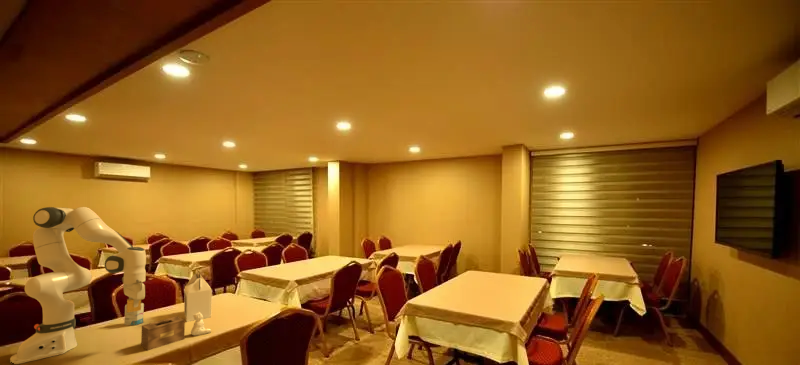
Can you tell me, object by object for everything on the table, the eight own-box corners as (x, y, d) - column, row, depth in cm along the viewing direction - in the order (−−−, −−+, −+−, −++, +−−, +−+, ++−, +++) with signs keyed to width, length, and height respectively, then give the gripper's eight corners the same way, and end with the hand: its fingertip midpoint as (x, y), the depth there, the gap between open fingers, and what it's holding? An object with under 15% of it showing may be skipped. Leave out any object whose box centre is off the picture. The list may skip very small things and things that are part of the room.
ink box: (143, 322, 201) (144, 302, 202) (136, 325, 196) (137, 305, 197) (131, 322, 202) (131, 302, 202) (123, 325, 197) (124, 305, 198)
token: (126, 312, 165) (127, 300, 166) (126, 311, 168) (127, 299, 168) (140, 310, 169) (141, 298, 169) (140, 308, 171) (140, 297, 171)
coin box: (148, 350, 162) (148, 329, 162) (141, 345, 168) (141, 325, 168) (184, 339, 175) (184, 320, 175) (176, 334, 181) (177, 316, 181)
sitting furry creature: (212, 332, 183) (212, 310, 184) (196, 338, 176) (196, 315, 176) (203, 329, 188) (203, 308, 189) (186, 334, 180) (187, 312, 181)
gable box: (184, 312, 218) (185, 270, 219) (207, 308, 226) (207, 267, 227) (186, 322, 200) (187, 275, 202) (211, 317, 208) (212, 272, 210)
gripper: (149, 280, 166) (148, 308, 165) (135, 275, 178) (135, 301, 177) (133, 282, 160) (132, 311, 160) (121, 277, 173) (120, 304, 172)
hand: (133, 306), depth 168 cm, fingers closed on token, 3 cm apart
